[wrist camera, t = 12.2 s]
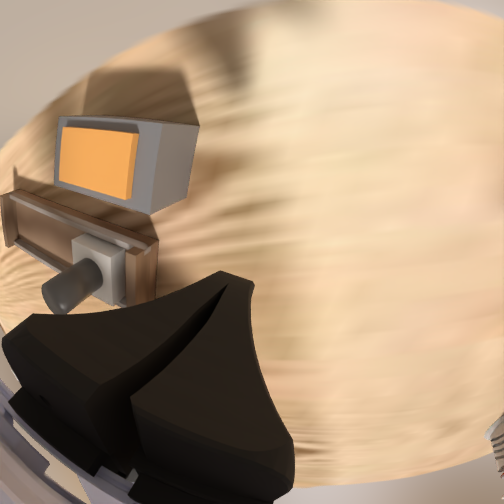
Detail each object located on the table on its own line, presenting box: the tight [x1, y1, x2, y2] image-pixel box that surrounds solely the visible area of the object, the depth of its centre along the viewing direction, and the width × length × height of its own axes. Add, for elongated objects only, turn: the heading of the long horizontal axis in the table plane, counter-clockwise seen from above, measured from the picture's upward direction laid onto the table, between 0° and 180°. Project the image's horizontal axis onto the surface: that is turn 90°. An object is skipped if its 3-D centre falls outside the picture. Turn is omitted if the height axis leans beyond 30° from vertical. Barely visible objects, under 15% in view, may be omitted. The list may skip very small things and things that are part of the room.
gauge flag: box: [59, 127, 139, 200], centre depth 15 cm, size 4×7×1 cm, turn 76°
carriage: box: [42, 233, 125, 315], centre depth 20 cm, size 5×5×7 cm
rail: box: [0, 189, 159, 308], centre depth 24 cm, size 7×24×3 cm, turn 76°
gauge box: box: [54, 115, 200, 215], centre depth 18 cm, size 6×10×5 cm, turn 76°
